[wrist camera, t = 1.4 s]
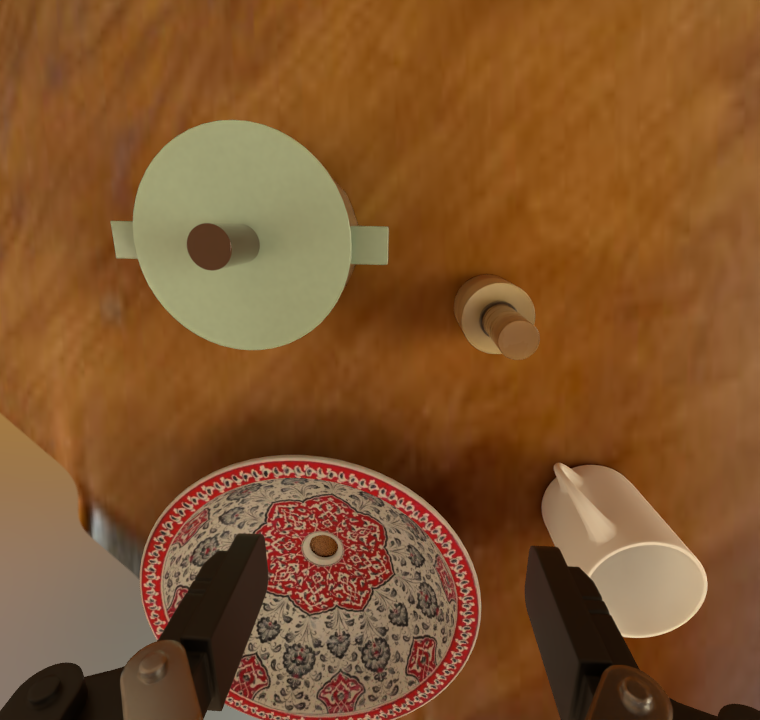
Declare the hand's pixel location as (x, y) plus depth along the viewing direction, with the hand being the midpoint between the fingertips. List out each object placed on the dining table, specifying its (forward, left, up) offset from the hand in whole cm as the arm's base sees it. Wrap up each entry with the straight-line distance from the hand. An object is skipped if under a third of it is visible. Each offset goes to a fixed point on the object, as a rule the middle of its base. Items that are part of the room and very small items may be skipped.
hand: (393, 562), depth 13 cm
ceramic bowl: (+22, -7, -26) cm, 34 cm away
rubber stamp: (-3, +7, -26) cm, 27 cm away
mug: (+14, +17, -26) cm, 34 cm away
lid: (-8, -10, -17) cm, 22 cm away
